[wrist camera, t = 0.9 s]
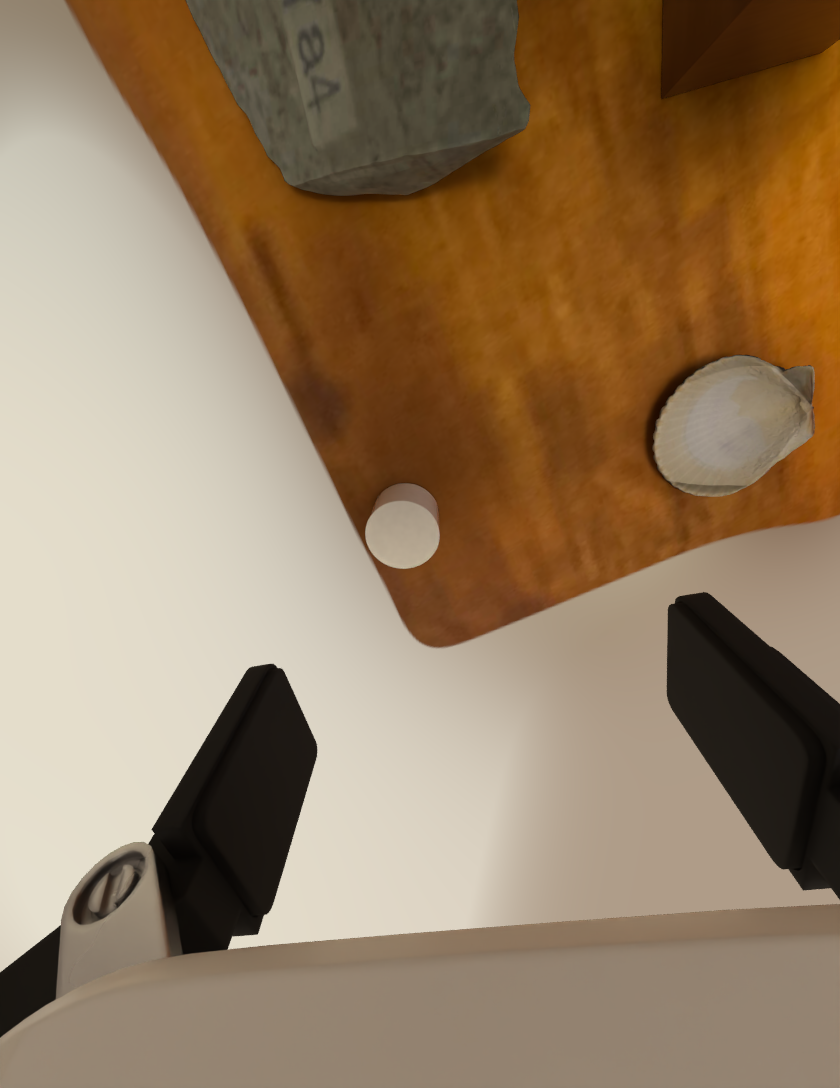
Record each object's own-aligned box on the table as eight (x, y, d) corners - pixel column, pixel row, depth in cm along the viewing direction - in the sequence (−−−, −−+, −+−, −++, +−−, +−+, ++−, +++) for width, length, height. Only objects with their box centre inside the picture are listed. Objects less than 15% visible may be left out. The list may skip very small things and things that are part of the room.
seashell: (636, 383, 27) (652, 505, 28) (648, 377, 24) (666, 513, 25) (792, 342, 24) (802, 478, 26) (827, 329, 21) (835, 484, 23)
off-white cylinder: (365, 490, 28) (356, 508, 25) (431, 476, 28) (431, 493, 25) (382, 549, 30) (375, 574, 27) (444, 538, 30) (445, 562, 26)
